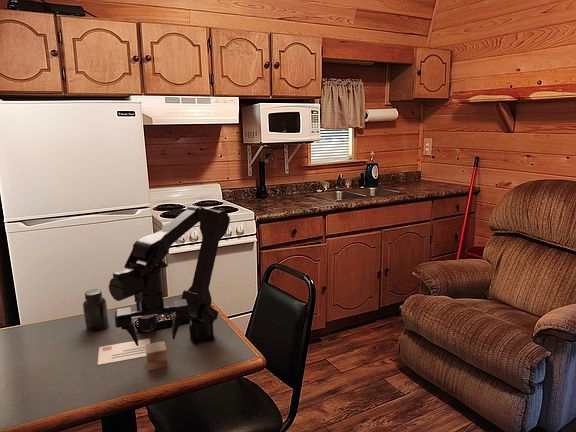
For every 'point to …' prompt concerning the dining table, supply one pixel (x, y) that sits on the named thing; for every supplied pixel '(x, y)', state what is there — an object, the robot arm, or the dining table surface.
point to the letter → (122, 351)
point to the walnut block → (156, 355)
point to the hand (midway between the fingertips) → (155, 342)
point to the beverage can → (146, 321)
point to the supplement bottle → (95, 311)
